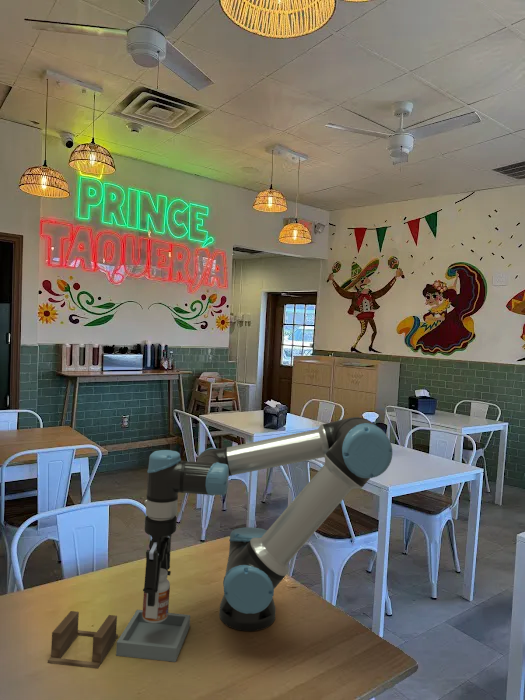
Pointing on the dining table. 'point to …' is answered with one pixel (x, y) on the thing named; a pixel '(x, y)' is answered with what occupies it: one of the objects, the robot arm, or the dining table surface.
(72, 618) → the wooden open frame
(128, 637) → the tray
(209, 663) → the dining table surface
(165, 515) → the robot arm
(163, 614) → the pill bottle
